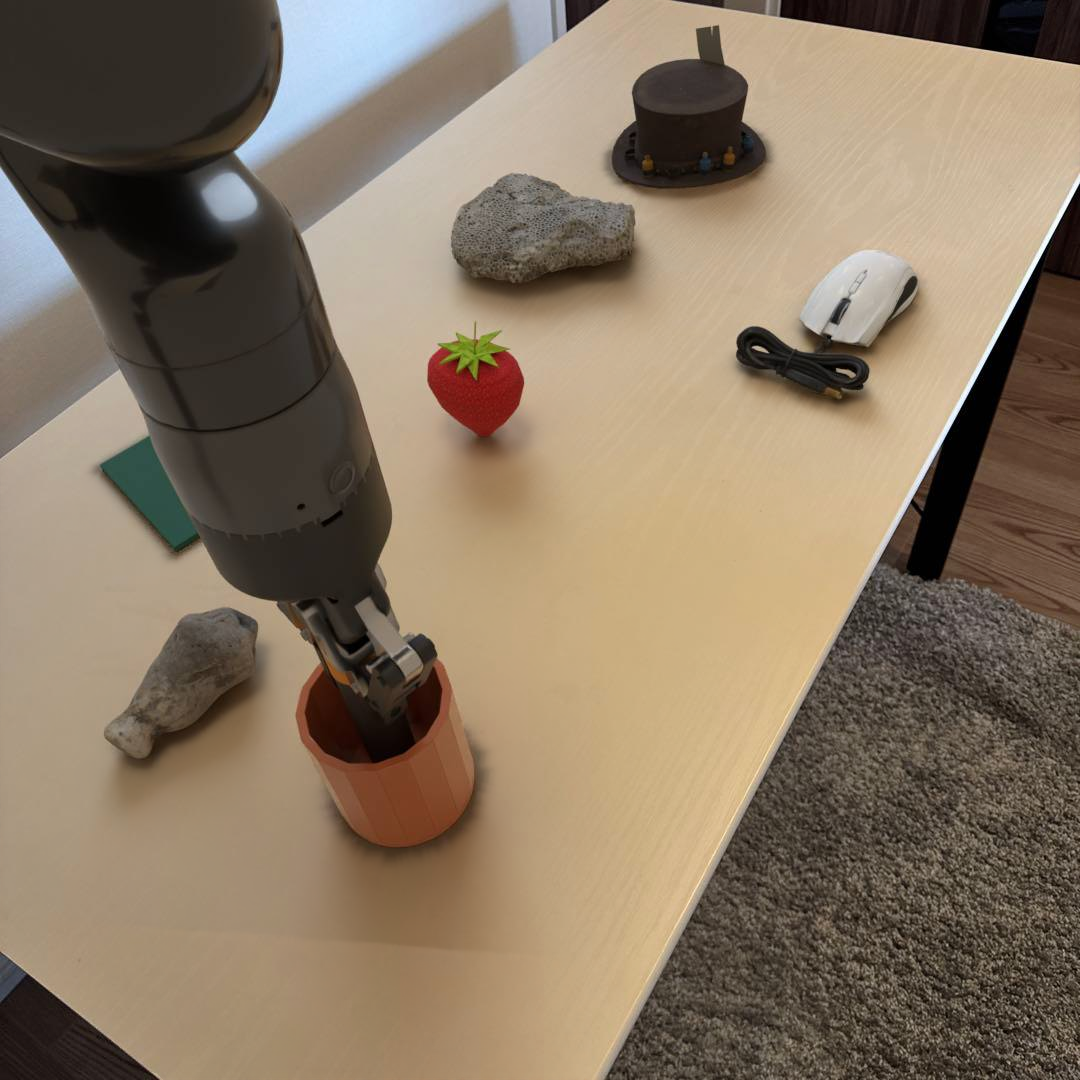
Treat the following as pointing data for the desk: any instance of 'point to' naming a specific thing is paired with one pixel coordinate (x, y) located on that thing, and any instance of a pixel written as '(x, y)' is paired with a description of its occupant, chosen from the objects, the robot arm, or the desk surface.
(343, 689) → the marker
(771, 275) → the desk surface
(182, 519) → the mat
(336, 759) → the pen cup
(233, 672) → the stone
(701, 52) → the top hat
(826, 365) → the computer mouse
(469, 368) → the strawberry
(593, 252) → the rock
